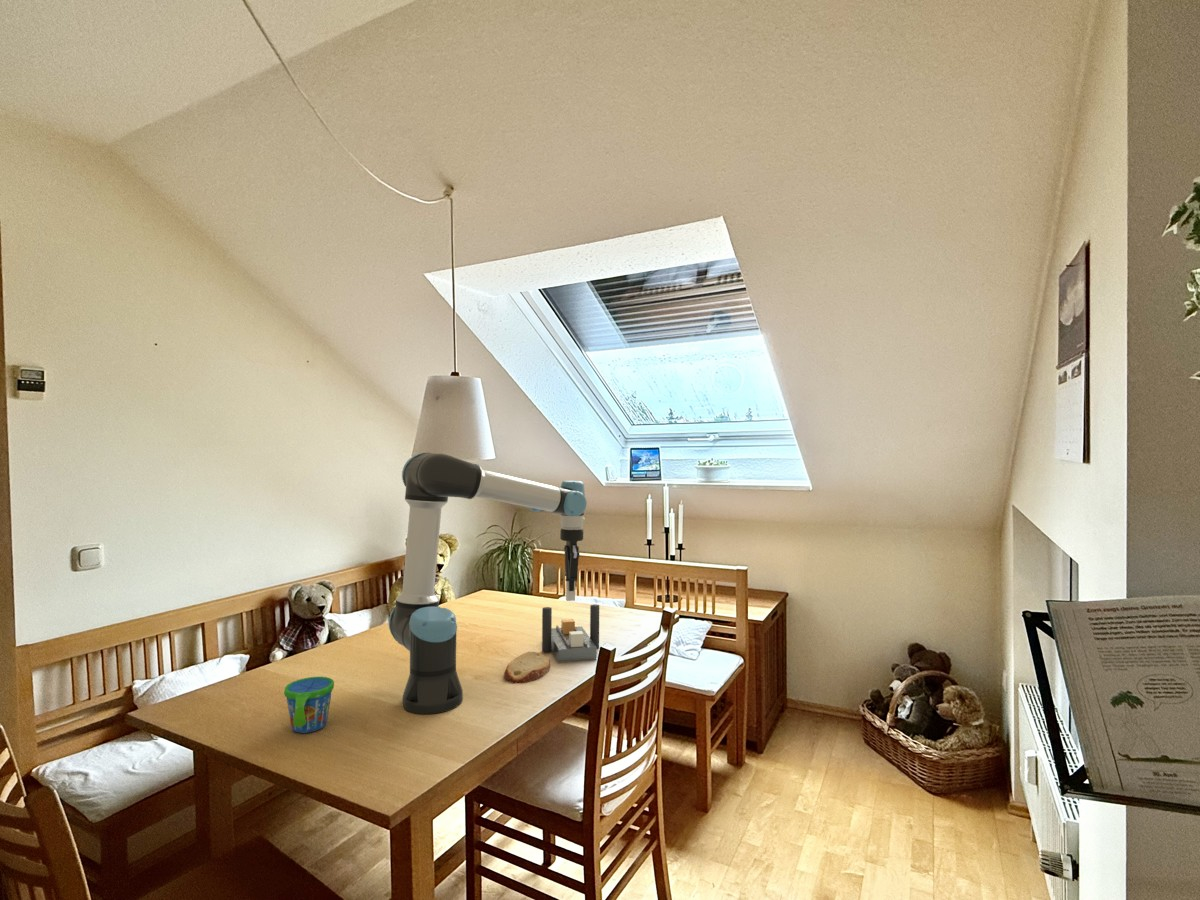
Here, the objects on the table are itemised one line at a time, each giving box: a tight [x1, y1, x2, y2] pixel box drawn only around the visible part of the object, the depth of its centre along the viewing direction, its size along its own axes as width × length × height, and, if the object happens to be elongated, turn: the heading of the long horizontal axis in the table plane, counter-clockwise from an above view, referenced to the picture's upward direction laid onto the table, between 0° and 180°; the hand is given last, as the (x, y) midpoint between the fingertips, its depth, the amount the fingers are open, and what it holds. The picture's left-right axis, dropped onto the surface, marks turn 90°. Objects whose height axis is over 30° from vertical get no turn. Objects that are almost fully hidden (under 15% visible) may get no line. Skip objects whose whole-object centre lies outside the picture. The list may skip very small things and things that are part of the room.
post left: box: [541, 606, 553, 654], centre depth 198 cm, size 3×3×14 cm
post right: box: [589, 604, 600, 650], centre depth 202 cm, size 3×3×14 cm
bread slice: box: [503, 651, 551, 684], centre depth 183 cm, size 18×18×4 cm
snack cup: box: [283, 676, 335, 734], centre depth 144 cm, size 16×10×10 cm
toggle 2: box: [569, 631, 584, 647], centre depth 192 cm, size 3×4×4 cm
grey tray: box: [551, 625, 598, 663], centre depth 200 cm, size 22×12×5 cm, turn 14°
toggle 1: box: [560, 618, 576, 634], centre depth 205 cm, size 3×4×4 cm
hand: (570, 600), depth 200 cm, fingers closed
